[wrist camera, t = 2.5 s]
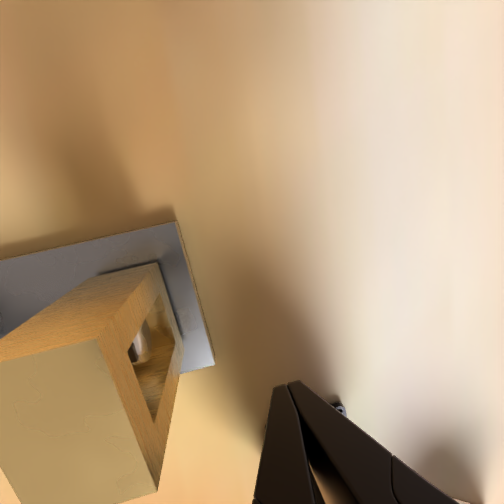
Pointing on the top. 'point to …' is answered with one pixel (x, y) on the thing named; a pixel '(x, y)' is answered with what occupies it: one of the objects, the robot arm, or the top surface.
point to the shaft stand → (103, 262)
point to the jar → (461, 501)
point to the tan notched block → (90, 393)
